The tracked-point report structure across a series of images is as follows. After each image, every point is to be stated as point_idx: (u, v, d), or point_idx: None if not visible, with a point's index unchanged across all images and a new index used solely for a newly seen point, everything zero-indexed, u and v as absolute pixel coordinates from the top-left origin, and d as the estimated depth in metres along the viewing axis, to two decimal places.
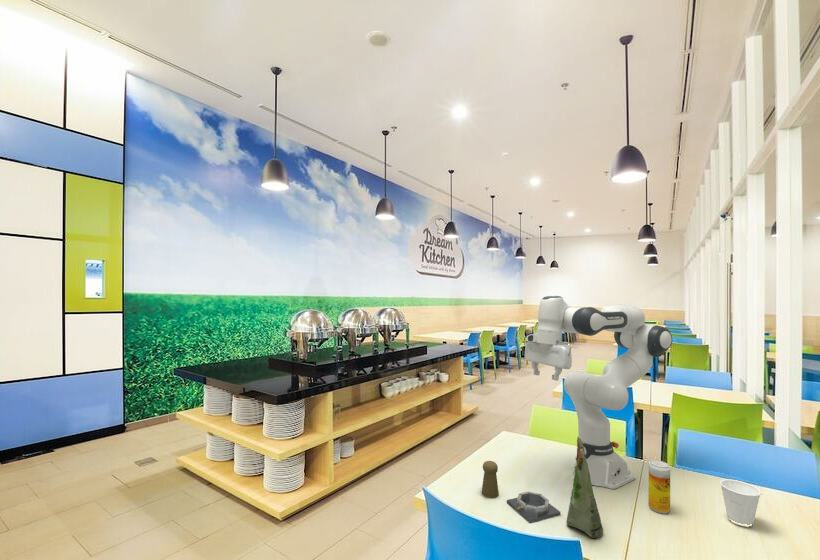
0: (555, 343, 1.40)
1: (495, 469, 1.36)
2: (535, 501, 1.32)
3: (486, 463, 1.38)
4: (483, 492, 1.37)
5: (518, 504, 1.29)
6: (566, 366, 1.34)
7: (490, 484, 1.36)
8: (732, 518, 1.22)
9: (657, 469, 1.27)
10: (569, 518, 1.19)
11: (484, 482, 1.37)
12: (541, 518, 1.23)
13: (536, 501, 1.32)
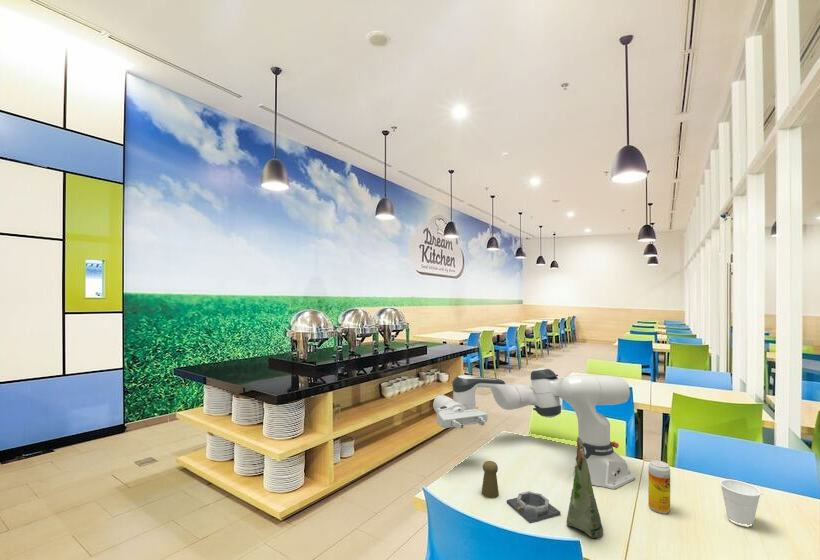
0: None
1: (495, 469, 1.36)
2: (535, 501, 1.32)
3: (486, 463, 1.38)
4: (483, 492, 1.37)
5: (518, 504, 1.29)
6: None
7: (490, 484, 1.36)
8: (732, 518, 1.22)
9: (657, 469, 1.28)
10: (569, 518, 1.19)
11: (484, 482, 1.37)
12: (541, 518, 1.23)
13: (536, 501, 1.32)
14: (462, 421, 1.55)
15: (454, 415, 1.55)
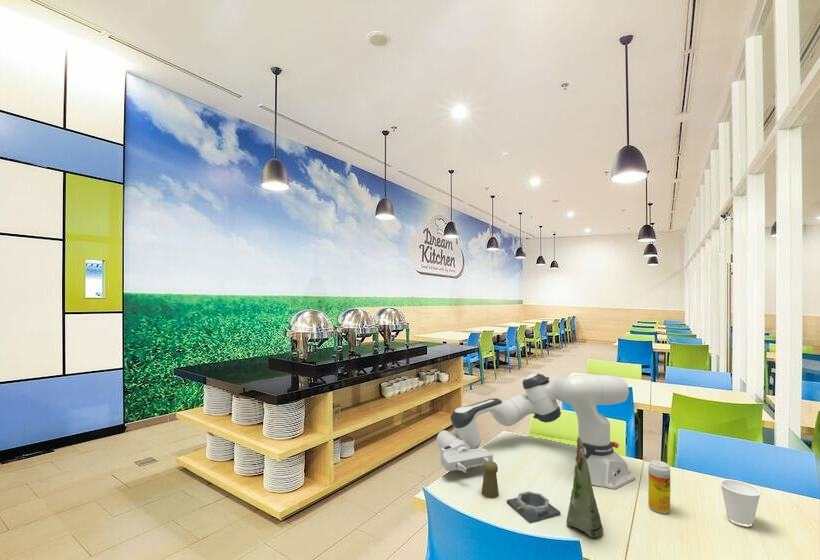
0: None
1: (495, 469, 1.36)
2: (535, 501, 1.32)
3: (486, 463, 1.38)
4: (483, 492, 1.37)
5: (518, 504, 1.29)
6: None
7: (490, 484, 1.36)
8: (732, 518, 1.22)
9: (657, 469, 1.28)
10: (569, 518, 1.19)
11: (484, 482, 1.37)
12: (541, 518, 1.23)
13: (536, 501, 1.32)
14: (467, 463, 1.50)
15: (459, 457, 1.50)
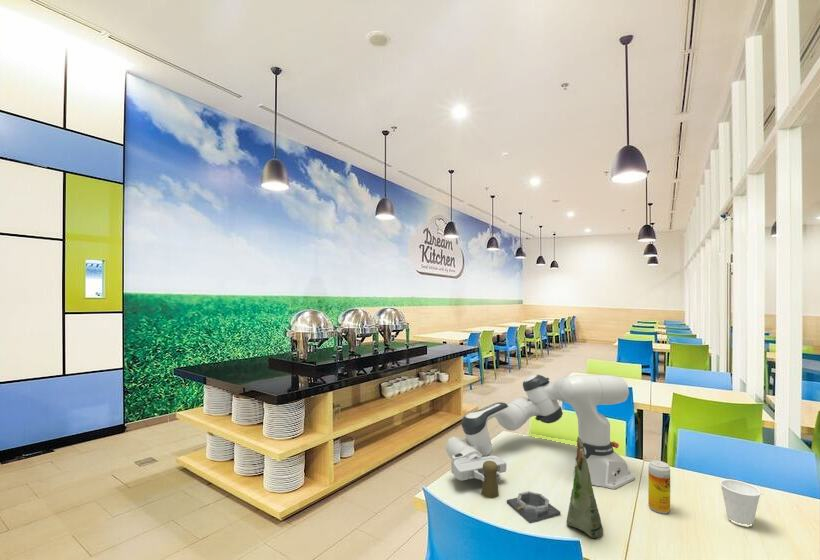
0: None
1: (495, 469, 1.36)
2: (535, 501, 1.32)
3: (486, 463, 1.38)
4: (483, 492, 1.37)
5: (518, 504, 1.29)
6: None
7: (490, 484, 1.36)
8: (732, 518, 1.22)
9: (657, 469, 1.28)
10: (569, 518, 1.19)
11: (484, 482, 1.37)
12: (541, 518, 1.23)
13: (536, 501, 1.32)
14: (479, 472, 1.42)
15: (471, 465, 1.43)
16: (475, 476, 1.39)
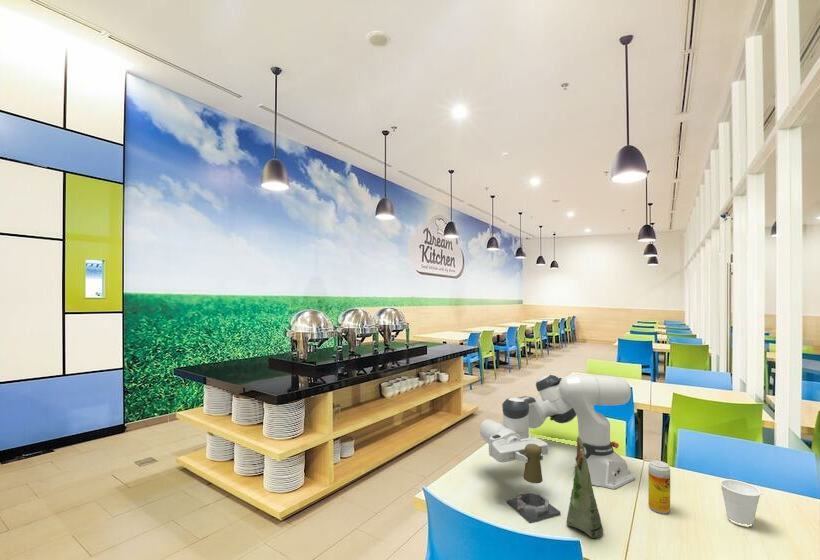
0: None
1: (538, 452, 1.27)
2: (535, 501, 1.32)
3: (528, 446, 1.29)
4: (525, 476, 1.28)
5: (518, 504, 1.29)
6: None
7: (533, 468, 1.27)
8: (732, 518, 1.22)
9: (657, 469, 1.28)
10: (569, 518, 1.19)
11: (526, 466, 1.29)
12: (541, 518, 1.23)
13: (536, 501, 1.32)
14: (520, 454, 1.33)
15: (511, 446, 1.34)
16: (517, 458, 1.30)
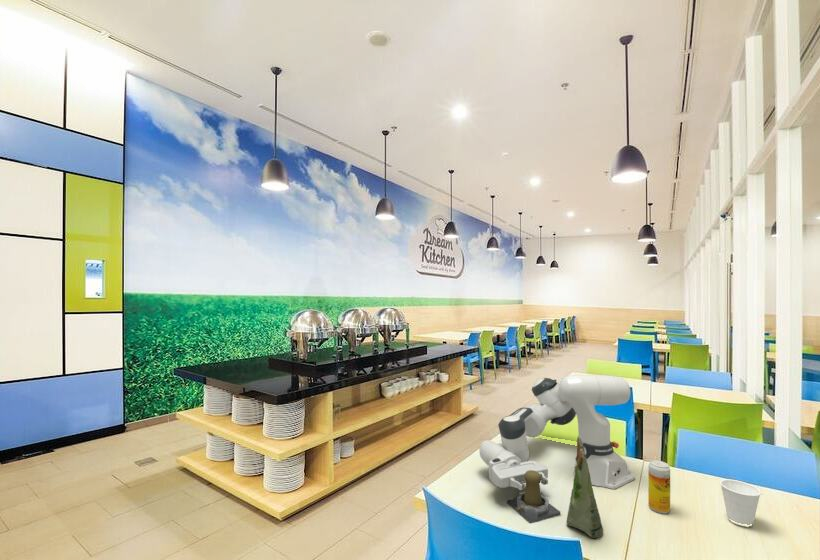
0: None
1: (538, 480, 1.27)
2: None
3: (528, 473, 1.29)
4: None
5: (518, 504, 1.29)
6: None
7: (532, 495, 1.27)
8: (732, 518, 1.22)
9: (657, 469, 1.28)
10: (569, 518, 1.19)
11: (526, 493, 1.29)
12: (541, 518, 1.23)
13: None
14: (520, 478, 1.33)
15: (511, 471, 1.34)
16: (511, 484, 1.29)
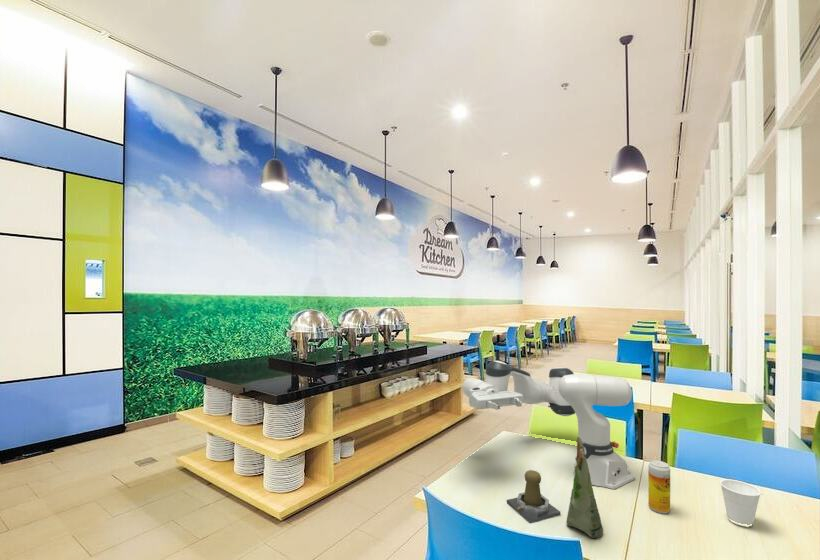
0: None
1: (538, 480, 1.27)
2: None
3: (528, 473, 1.29)
4: None
5: (518, 504, 1.29)
6: None
7: (532, 495, 1.27)
8: (732, 518, 1.22)
9: (657, 469, 1.28)
10: (569, 518, 1.19)
11: (526, 493, 1.29)
12: (541, 518, 1.23)
13: None
14: (497, 402, 1.46)
15: (488, 396, 1.47)
16: (488, 406, 1.43)
